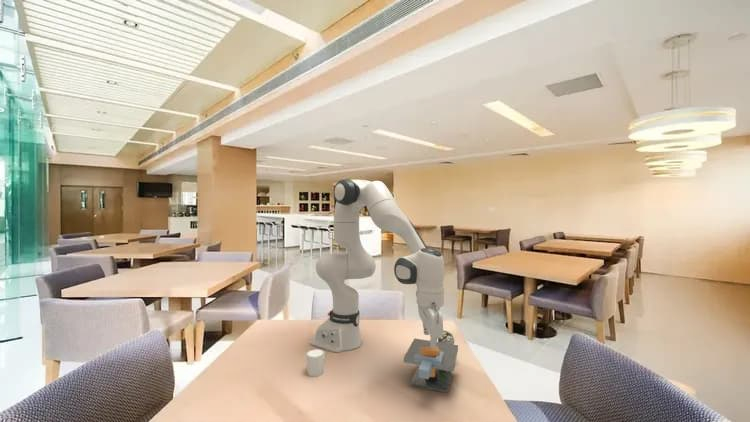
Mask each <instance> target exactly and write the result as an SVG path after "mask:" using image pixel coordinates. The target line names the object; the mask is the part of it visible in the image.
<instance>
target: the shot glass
mask: <svg viewBox="0 0 750 422" xmlns="http://www.w3.org/2000/svg"><path fill="white" fill-rule="evenodd" d="M325 356H326V351H325V349H323V348H313V349H310V350H308V351H307V352H305V358H306V359H305V360H306V370H307V375H308V376H310V377H318V376H322V375H323V373H324V370H325V369H324V367H325V358H326V357H325Z"/></svg>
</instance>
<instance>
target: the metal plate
mask: <svg viewBox="0 0 750 422" xmlns="http://www.w3.org/2000/svg"><path fill="white" fill-rule="evenodd" d="M420 347H431V346H430V340H427V339H421V338H413V341H412V342H411V344H410V346H409V347H408V349H407V350H406V353H405V354H404V356H403V363H405V364H410V365H411V364H412V365H416V366H417V368H416V370H415V373H414V374H413V377H412V378H411V382H410V387H414V388H419V389H424V390H428V391H432V392H437V393H442V394H446V395H447V394H448V392H449V388H450V384H451V379H452V372H454V370H455V366H456V362H457V356H458V351H459V345H457V344H446V343H440V342H438V341H437V342H436V347H438V348H439V350H440V351H442V352H444V357H443V360H442V364H441V366H437V365H432V368H435V377H429V379H425V378H420V377H419V367H420V365H421V362H415V361H414V356H415V354H416V352H417V350H418V348H420ZM435 358H436V356H435Z"/></svg>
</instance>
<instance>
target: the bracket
mask: <svg viewBox="0 0 750 422" xmlns="http://www.w3.org/2000/svg"><path fill="white" fill-rule="evenodd" d="M443 357H444V352H442V351H440V356H436V358H434V357H428V356H421V353H420V348H418V350H417V352H416V354H415V356H414V361H415V362H421V365H419V366H420V367H419V377H420V378H425V379H429V377H430V374H431V371H432V365H437V366H441V364H442V360H443Z"/></svg>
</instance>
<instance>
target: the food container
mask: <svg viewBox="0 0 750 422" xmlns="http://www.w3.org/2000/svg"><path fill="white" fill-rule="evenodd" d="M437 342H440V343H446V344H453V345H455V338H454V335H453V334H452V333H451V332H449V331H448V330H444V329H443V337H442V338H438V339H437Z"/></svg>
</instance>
